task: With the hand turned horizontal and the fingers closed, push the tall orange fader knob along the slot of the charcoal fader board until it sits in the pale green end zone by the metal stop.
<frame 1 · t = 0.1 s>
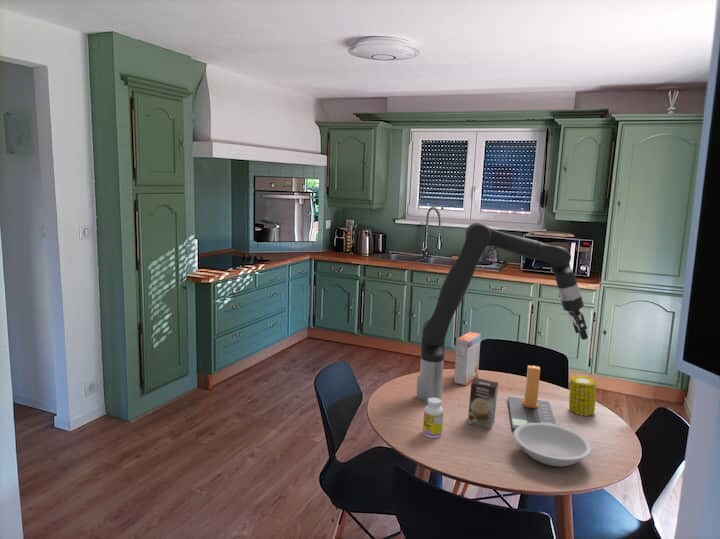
hand: (581, 335, 201), 31 cm above the table, tool tilted 20°, fingers open, 8 cm apart
fader: (532, 386, 205), point 10 cm above the table, slide at 7.0 cm
fader board: (531, 417, 200), on the table
supplement bottle: (432, 434, 184), on the table
coffee box: (480, 423, 194), on the table
soup bowl: (549, 458, 171), on the table
food: (580, 412, 207), on the table
cracker box: (465, 380, 235), on the table
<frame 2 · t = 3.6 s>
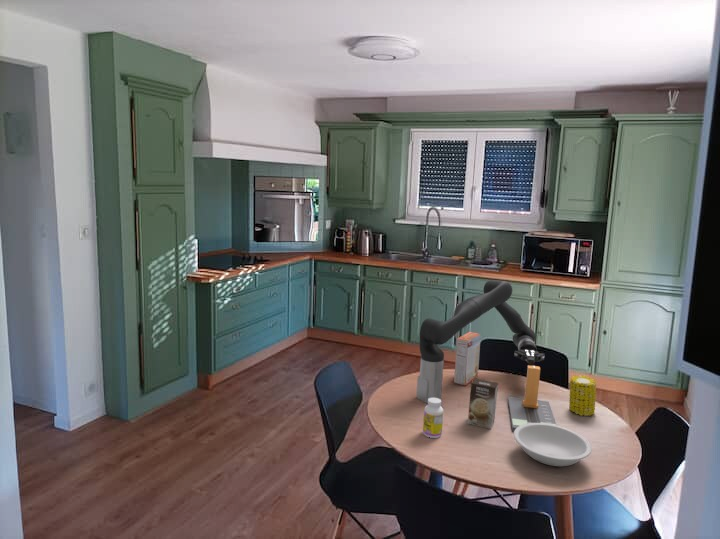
hand: (531, 362, 214), 16 cm above the table, tool horizontal, fingers closed
nothing on the table moved.
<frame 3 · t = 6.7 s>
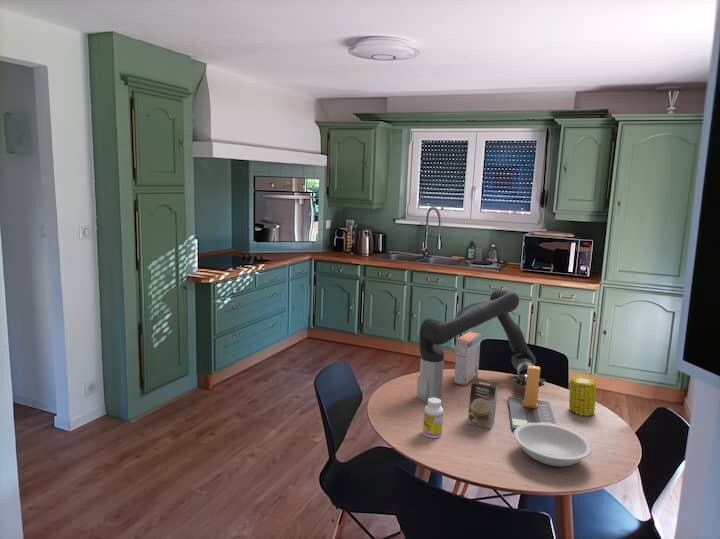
hand: (531, 388, 207), 8 cm above the table, tool horizontal, fingers closed
fader: (532, 386, 205), point 10 cm above the table, slide at 7.0 cm, touching gripper
everything else where it was.
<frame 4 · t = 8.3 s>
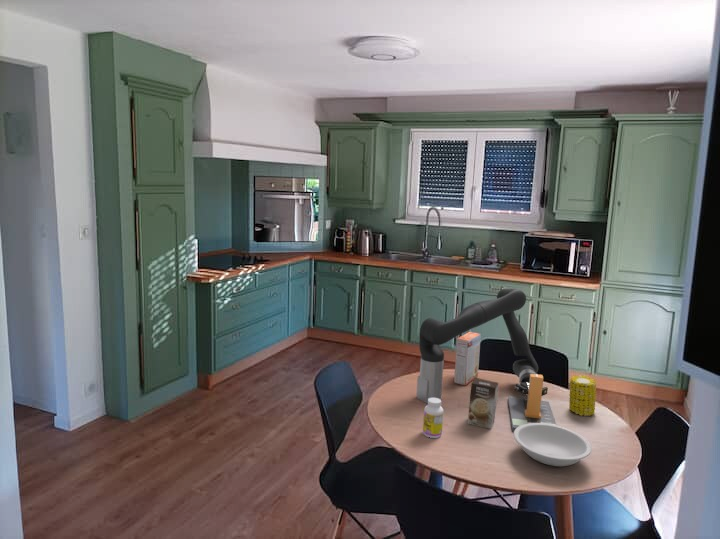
hand: (533, 397, 198), 8 cm above the table, tool horizontal, fingers closed
fader: (534, 395, 196), point 10 cm above the table, slide at -2.3 cm, touching gripper
everything else where it was.
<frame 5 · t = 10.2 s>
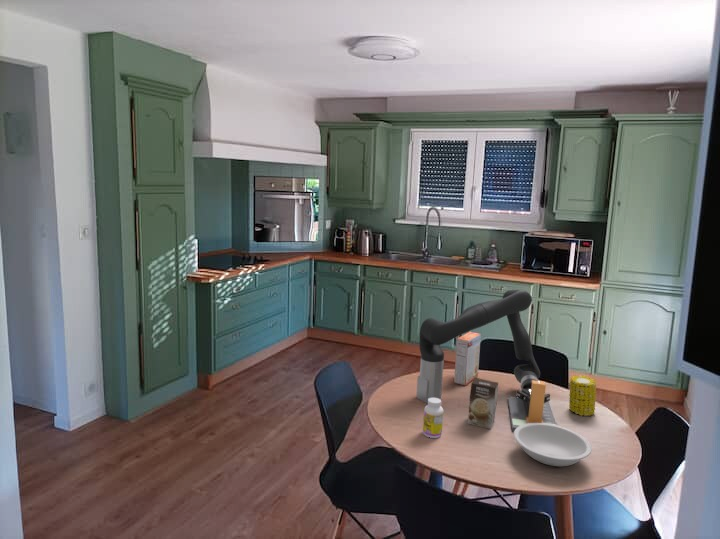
hand: (535, 404, 191), 8 cm above the table, tool horizontal, fingers closed
fader: (536, 402, 190), point 10 cm above the table, slide at -9.1 cm, touching gripper
everything else where it was.
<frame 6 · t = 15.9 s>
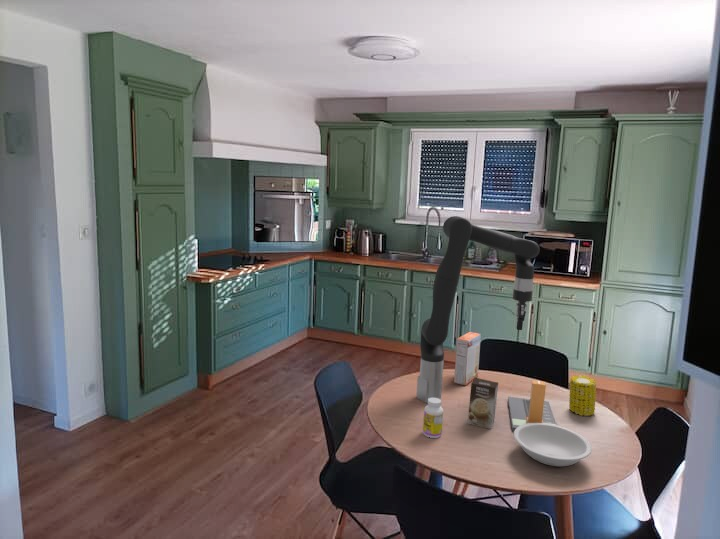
hand: (519, 329, 215), 29 cm above the table, tool pointing down, fingers closed
fader: (536, 402, 189), point 10 cm above the table, slide at -9.3 cm
everything else where it was.
at the end: fader slide at -9.3 cm; the gripper is holding nothing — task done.
